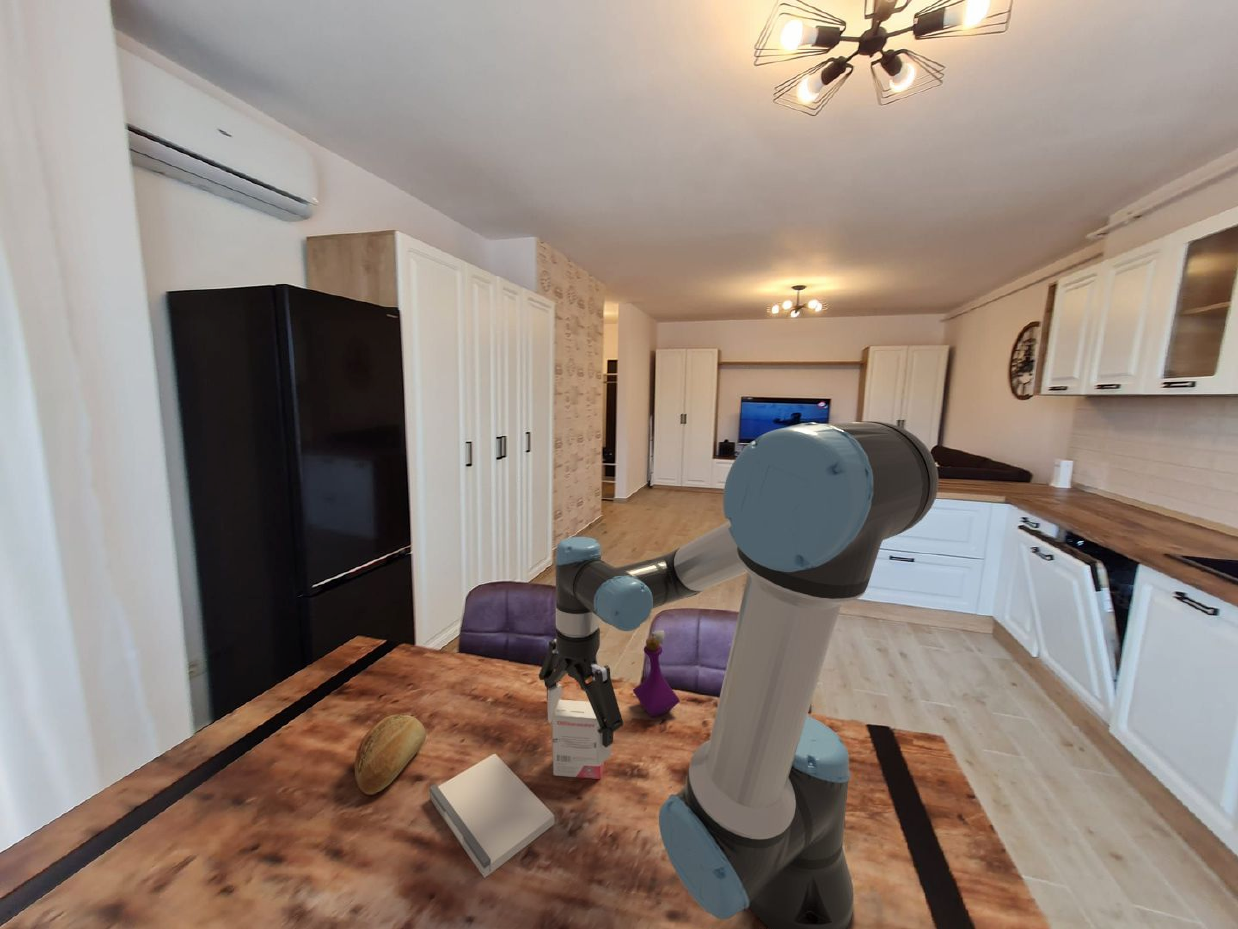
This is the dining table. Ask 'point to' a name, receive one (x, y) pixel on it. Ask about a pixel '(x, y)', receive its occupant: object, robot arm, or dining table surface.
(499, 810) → the white flat slab
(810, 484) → the robot arm
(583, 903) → the dining table surface
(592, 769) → the ink box
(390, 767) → the bread roll
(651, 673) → the perfume bottle
